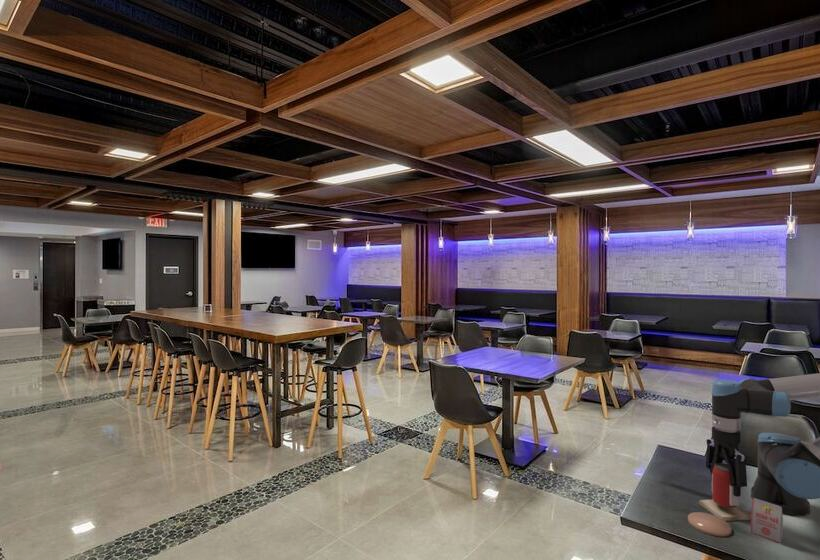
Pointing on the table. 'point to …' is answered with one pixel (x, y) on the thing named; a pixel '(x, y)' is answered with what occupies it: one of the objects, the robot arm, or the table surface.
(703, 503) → the square tan board
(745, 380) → the robot arm
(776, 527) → the printed cardboard carton
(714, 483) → the beer can
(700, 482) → the table surface
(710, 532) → the coaster
